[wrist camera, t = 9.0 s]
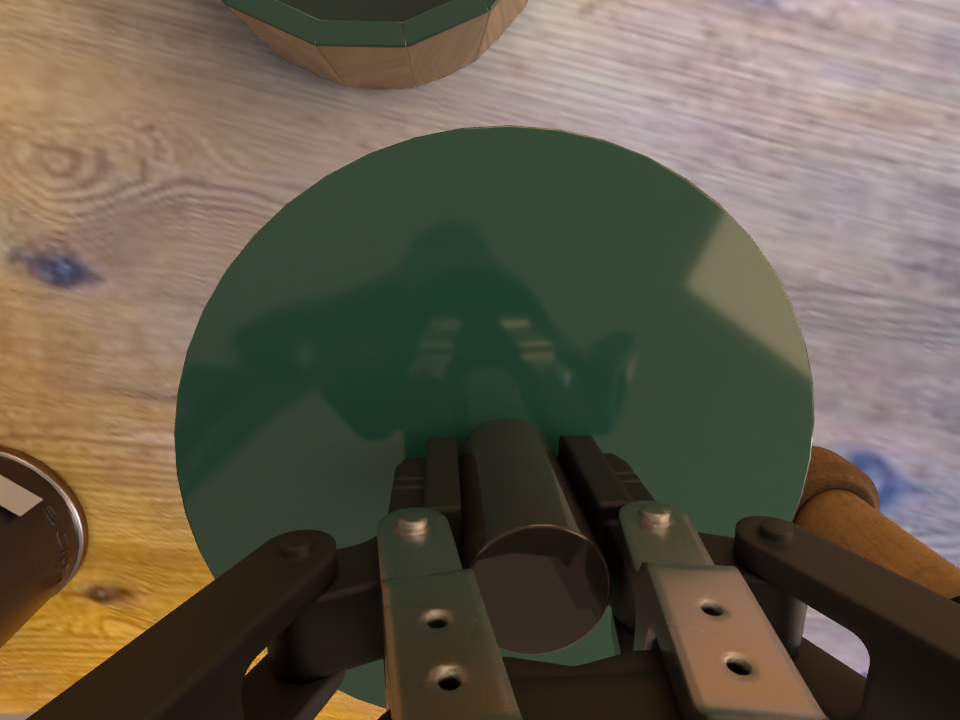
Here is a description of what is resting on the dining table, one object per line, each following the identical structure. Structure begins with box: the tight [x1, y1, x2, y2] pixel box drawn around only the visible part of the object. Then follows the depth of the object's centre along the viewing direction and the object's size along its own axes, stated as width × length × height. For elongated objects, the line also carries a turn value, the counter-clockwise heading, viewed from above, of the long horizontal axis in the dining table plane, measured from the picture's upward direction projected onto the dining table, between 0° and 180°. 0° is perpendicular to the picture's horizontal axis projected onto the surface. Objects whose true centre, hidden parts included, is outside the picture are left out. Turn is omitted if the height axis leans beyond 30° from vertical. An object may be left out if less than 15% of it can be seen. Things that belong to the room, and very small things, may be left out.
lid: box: [174, 125, 814, 709], centre depth 13 cm, size 16×16×6 cm
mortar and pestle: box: [792, 446, 960, 604], centre depth 25 cm, size 7×6×18 cm
